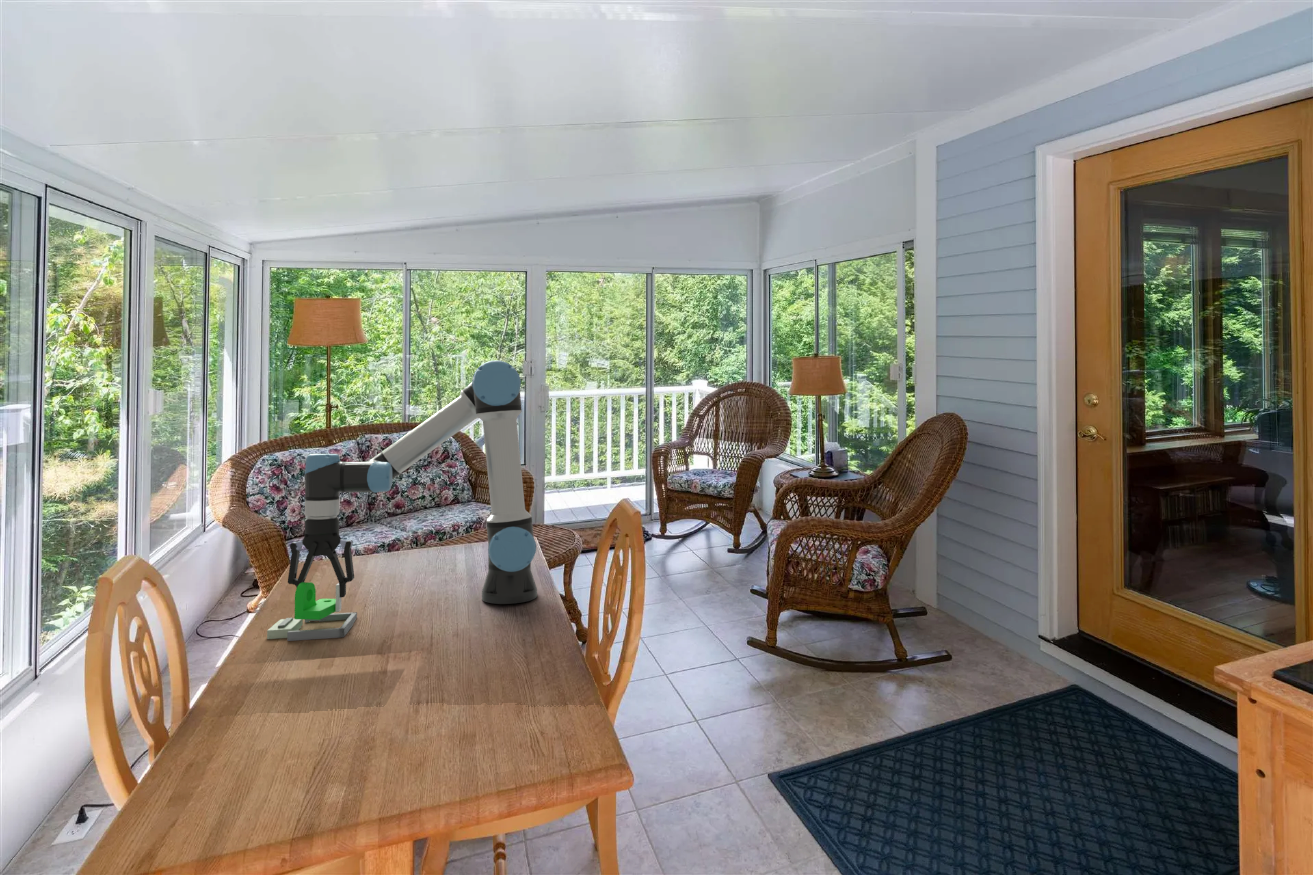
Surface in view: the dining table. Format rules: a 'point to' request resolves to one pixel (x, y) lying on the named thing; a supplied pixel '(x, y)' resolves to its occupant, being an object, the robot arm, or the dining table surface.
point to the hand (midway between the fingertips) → (321, 611)
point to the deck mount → (291, 630)
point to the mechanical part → (311, 603)
